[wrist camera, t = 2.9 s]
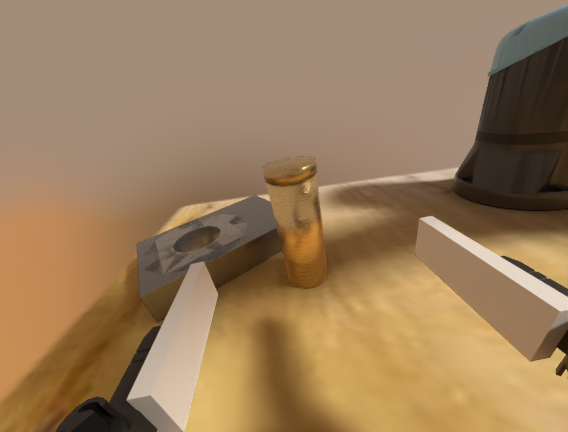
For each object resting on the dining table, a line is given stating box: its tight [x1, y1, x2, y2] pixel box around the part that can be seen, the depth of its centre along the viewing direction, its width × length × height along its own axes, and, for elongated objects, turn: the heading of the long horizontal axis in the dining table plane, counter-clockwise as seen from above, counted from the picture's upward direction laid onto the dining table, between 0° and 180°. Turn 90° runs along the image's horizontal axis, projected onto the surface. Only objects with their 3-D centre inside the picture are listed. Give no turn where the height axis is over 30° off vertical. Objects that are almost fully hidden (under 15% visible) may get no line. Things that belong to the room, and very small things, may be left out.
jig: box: [136, 195, 282, 323], centre depth 34 cm, size 22×15×4 cm
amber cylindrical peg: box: [262, 156, 328, 289], centre depth 23 cm, size 5×5×14 cm
